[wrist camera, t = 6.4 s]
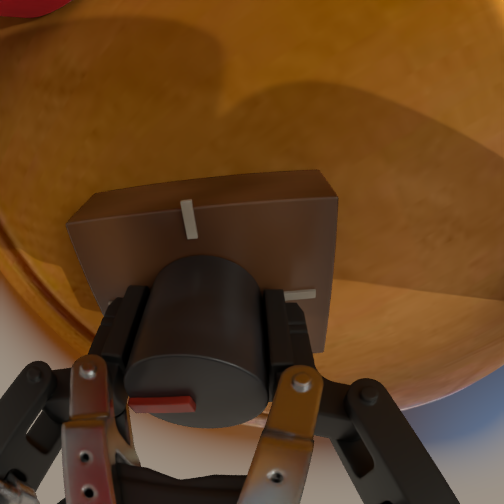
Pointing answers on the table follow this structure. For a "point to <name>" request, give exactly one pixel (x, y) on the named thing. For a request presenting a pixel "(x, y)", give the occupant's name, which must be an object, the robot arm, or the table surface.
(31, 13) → the beverage can
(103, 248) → the dial knob base block
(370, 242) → the table surface
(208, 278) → the rotary knob
